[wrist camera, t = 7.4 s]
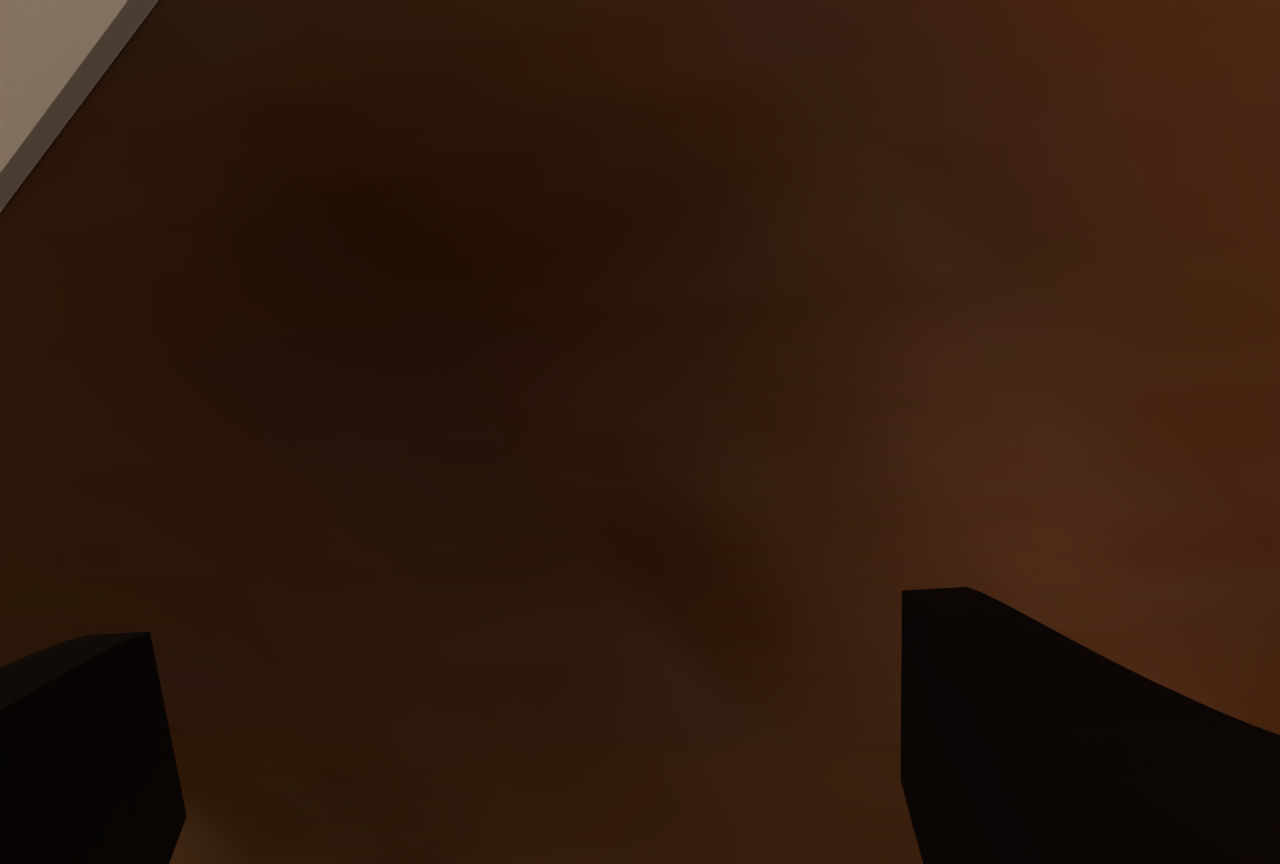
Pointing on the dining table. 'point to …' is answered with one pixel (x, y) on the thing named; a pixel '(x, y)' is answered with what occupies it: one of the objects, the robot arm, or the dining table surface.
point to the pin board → (53, 71)
